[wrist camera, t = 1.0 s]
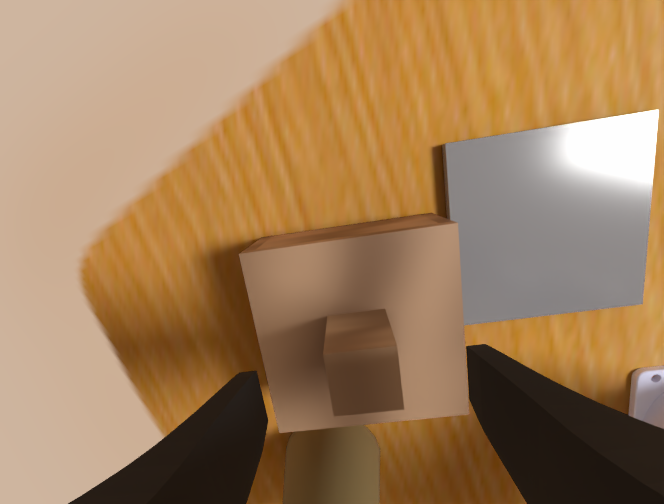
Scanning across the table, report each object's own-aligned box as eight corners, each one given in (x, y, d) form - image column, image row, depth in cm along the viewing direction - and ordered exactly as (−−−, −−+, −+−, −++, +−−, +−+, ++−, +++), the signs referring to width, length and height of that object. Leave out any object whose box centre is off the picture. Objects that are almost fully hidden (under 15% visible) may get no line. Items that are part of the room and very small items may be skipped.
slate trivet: (648, 111, 14) (658, 109, 14) (633, 300, 16) (642, 304, 16) (442, 144, 15) (445, 143, 14) (453, 321, 17) (457, 326, 17)
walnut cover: (431, 212, 16) (494, 236, 9) (443, 366, 18) (501, 475, 11) (261, 237, 16) (207, 275, 10) (291, 383, 18) (263, 495, 12)
